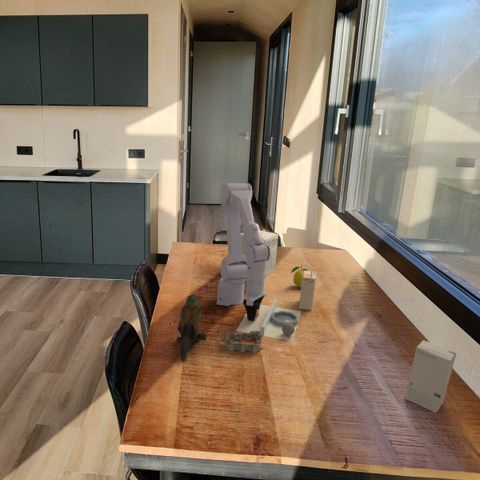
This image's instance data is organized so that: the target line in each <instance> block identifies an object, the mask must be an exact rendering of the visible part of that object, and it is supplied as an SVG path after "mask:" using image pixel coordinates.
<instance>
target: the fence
mask: <svg viewBox="0 0 480 480" xmlns="http://www.w3.org/2000/svg"><path fill="white" fill-rule="evenodd" d="M277 305H278V299H276V298H274V299H273V301H272V303H271V305H270V306H271V308H270V310H269V312H268V314H267V316H266V318H265V320H264V322H263V324H262V326H261V336H260V337H265V336H264V334H265V332H266V330H267V328H268V325H269V323H270V321H271V316H272V314H273V312H275V310H276V307H278V306H277Z"/></svg>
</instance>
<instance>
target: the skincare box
mask: <svg viewBox="0 0 480 480" xmlns="http://www.w3.org/2000/svg"><path fill="white" fill-rule="evenodd" d="M456 358H457V353H456V352H455V351H452V350H450V349H447V348H445V347H443V346H441V345H438V344H435V343H432V342H430V341H426V340H422V341H421V342H420V343H419V344H418V345H417V346H416V348H415V353H414V357H413V359H412V364H411V369H410V371H409V372H410V373H409V376H408V380H407V381H408V382H407V384H406V389H405V393H404V397H403V398H404V400H407V401H410V402H411V403H414V404H415V405H417V406H419V407H420V406H421V407H422V408H425V409H427V410H429V411H431V412H432V413H435V414H437V412H438V411H439V410H440V408H441V407H442V405H443V403H444V400H445V398H446V394H447V393H446V392H447V390H448V385H449V382H450V378H451V375H452V372H453V368H454V364H455V361H456Z"/></svg>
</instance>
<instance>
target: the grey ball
mask: <svg viewBox="0 0 480 480" xmlns="http://www.w3.org/2000/svg"><path fill="white" fill-rule="evenodd" d="M294 331H295V328H294V326H293V324H291V323H285V324H284V325H283V326H282V332H283V333H284V334H285V335H287V336H290V335H292V334H293V333H294ZM295 332H296V331H295Z"/></svg>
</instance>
